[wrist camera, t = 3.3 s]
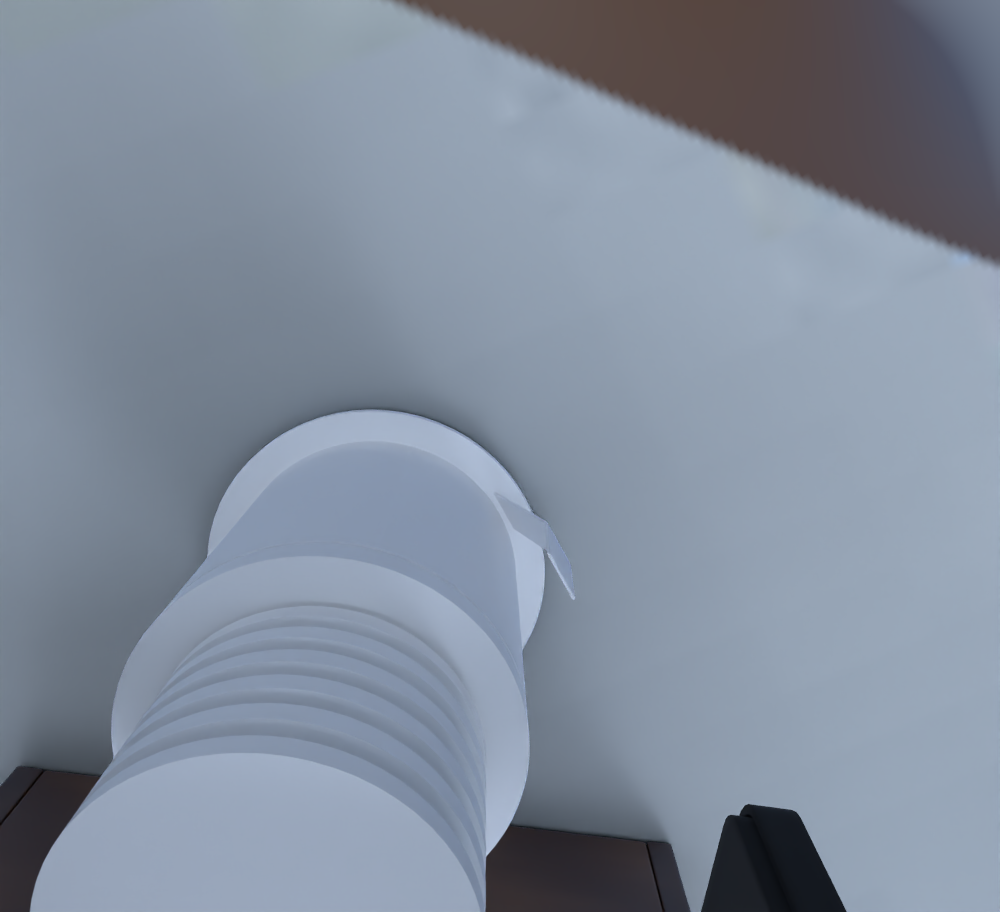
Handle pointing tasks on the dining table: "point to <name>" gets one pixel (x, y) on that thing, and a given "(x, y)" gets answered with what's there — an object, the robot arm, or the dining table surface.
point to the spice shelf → (509, 871)
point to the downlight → (325, 689)
